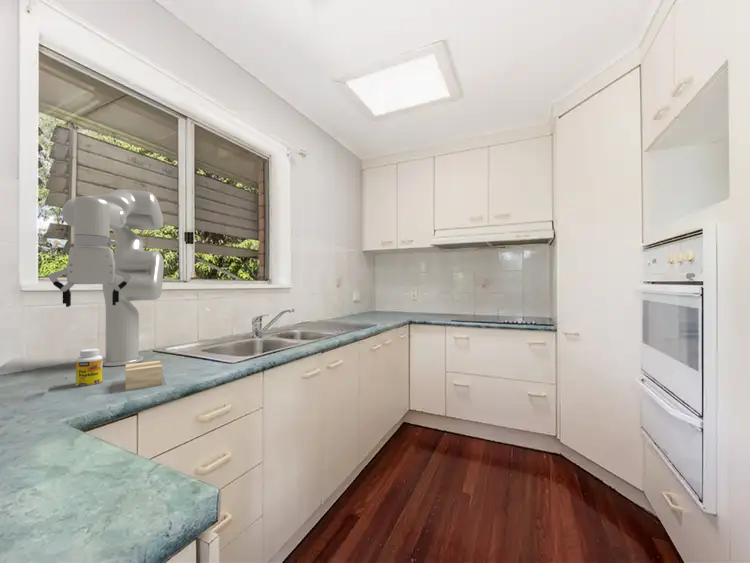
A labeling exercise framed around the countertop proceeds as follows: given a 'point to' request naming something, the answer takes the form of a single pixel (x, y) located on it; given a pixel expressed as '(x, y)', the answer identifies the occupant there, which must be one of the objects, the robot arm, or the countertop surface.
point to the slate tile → (121, 387)
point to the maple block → (143, 374)
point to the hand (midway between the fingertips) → (91, 305)
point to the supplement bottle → (89, 368)
